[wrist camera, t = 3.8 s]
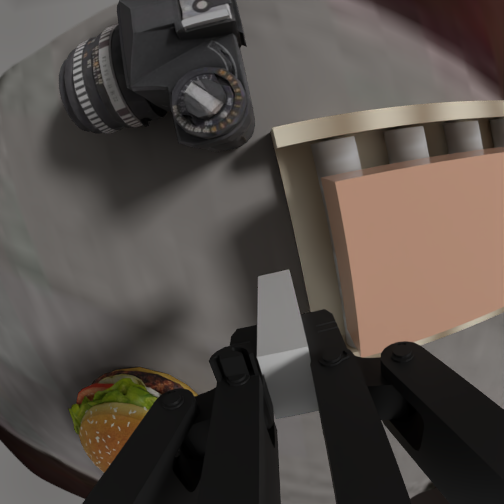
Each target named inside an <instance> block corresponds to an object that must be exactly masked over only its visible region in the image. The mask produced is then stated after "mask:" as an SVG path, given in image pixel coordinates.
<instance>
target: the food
mask: <svg viewBox="0 0 504 504" xmlns="http://www.w3.org/2000/svg"><path fill="white" fill-rule="evenodd" d="M179 388H183V389H188V390H189V391H191V392H192V393H193V395H194V396H197V395H198V394H197V393H195V392H194V391H193V390H192V389H191V388H190V387H189V386H188V385H186V384H185V383H183V382H181V381H179V380H178V379H176V378H174V377H172V376H171V375H169V374H165V373H161V372H157V371H153V370H149V369H145V368H142V367H137V368H128V369H119V370H115V371H113V372H110V373H106V374H104V375H102V376H101V377H99V378H98V379H96V380H95V381H94V382H93V383H92V385H90V386H88V387H85V388H83V389H82V390H81V391H80V392H79V393H78V397H77V403H76V404H74V405H72V407H71V409H69V408H68V409H69V411H70V414H71V417H72V420H73V423H74V430H75V432H76V433H77V434H78V435H79V437H80V441H81V444H82V446H83V448H84V451H85V452H86V453H87V455H88V456H89V458H90V459H91V460H92V461H93V463H94V464H95V465H96V466H97V467H98V468H99V469H100V470H101V471H103V472H104V473H105V471H106V470H107V468H108V467H109V466H110V464H111V463H112V461H113V460H114V459H115V457H116V456H117V454H118V453H119V452H120V450H121V449H122V447H123V446H124V445H125V443H126V442H127V440H128V439H129V437H130V436H131V435H132V433H133V432H134V430H135V429H136V428H137V426H138V425H139V423H140V422H141V421H142V419H143V418H144V416H145V415H146V413H147V412H148V411H149V409H150V408H151V406H152V405H153V403H154V402H155V401H156V399H157V398H158V397H159V396H160V395H162V394H164V393H165V392H167V391H170V390H173V389H179Z"/></svg>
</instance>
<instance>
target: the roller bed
mask: <svg viewBox="0 0 504 504" xmlns="http://www.w3.org/2000/svg"><path fill="white" fill-rule="evenodd" d="M270 134H271V138H272V142H273V146H274V150H275V154H276V158H277V162H278V166H279V170H280V174H281V178H282V183H283V187H284V191H285V195H286V200H287V204H288V208H289V213H290V217H291V221H292V226H293V230H294V235H295V239H296V244H297V249H298V253H299V258H300V263H301V268H302V272H303V277H304V282H305V287H306V292H307V297H308V302H309V307H310V312H314V311H318V310H323V309H326V310H327V311H329V312H330V313H332V314H333V316H334V318H335V321H336V323H337V326H338V328H339V330H340V333H341V335H342V337H343V340H344V342H345V344H346V347H347V349H350V350H351V351H352V353H353V354H354V355H355V356H358V357H360V355H359V353H358V350H357V348H356V346H355V344H354V342H353V340H352V338H351V336H350V334H349V332H348V330H347V324H346V317H345V310H344V303H343V296H342V289H341V283H340V277H339V270H338V264H337V259H336V253H335V247H334V242H333V236H332V231H331V225H330V220H329V215H328V210H327V205H326V200H325V195H324V191H323V186H322V181H321V178H322V177H326V176H331V175H336V174H341V173H346V172H351V171H356V170H361V169H366V168H371V167H376V166H382V165H387V164H393V163H398V162H404V161H410V160H415V159H421V158H427V157H434V156H440V155H446V154H453V153H460V152H467V151H474V150H481V149H489V148H496V147H504V101H463V102H445V103H431V104H419V105H408V106H399V107H390V108H382V109H374V110H367V111H360V112H353V113H347V114H340V115H334V116H329V117H323V118H317V119H312V120H307V121H302V122H297V123H292V124H287V125H282V126H278V127H273V128H272V130H271V132H270ZM503 312H504V307H502V308H500V309H498V310H496V311H493V312H491V313H489V314H486V315H484V316H482V317H479V318H477V319H474V320H472V321H469V322H467V323H464V324H462V325H459V326H457V327H454V328H452V329H449V330H446V331H444V332H441V333H438V334H435V335H433V336H430V337H427V338H424V339H421V340H418V341H415V342H414V343H416V344H418V345H423V344H426V343H429V342H431V341H434V340H437V339H440V338H442V337H445V336H448V335H450V334H453V333H455V332H458V331H460V330H463V329H465V328H468V327H470V326H473V325H475V324H478V323H480V322H482V321H485V320H487V319H489V318H491V317H494V316H496V315H498V314H500V313H503ZM381 353H382V352H381ZM381 353H378V354H374V355H371V356H367V357H364V358H376V357H381Z"/></svg>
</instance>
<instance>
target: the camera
mask: <svg viewBox="0 0 504 504" xmlns="http://www.w3.org/2000/svg"><path fill="white" fill-rule="evenodd" d="M117 15H118V23H119V24H116V25H113V26H110V27H108V28H106V29H105V30H104V31H103V32H102V33H101V34H99V35H98V36H97V37H92V38H90V39H88V40H86V41H84V42H82V43H80V44H79V45H78V47H77V48H76V49H74V50H73V51H72V52H71V53H70V54H69V56H68V58H67V59H66V60H65V61H64V63H63V64H62V66H61V69H60V73H59V89H60V94H61V99H62V102H63V104H64V107H65V109H66V111H67V113H68V115H69V116H70V118H71V120H72V121H73V122H74V123H75V124H76V125H77V126H78V127H79V128H80V129H82V130H84V131H91V132H93V133H103V132H104V133H113V132H116V131H118V130H121V129H122V128H123V127H131V126H132V127H139V126H142V125H144V126H149V125H148V123H149V121H151V120H154V119H158V118H161V117H164V116H165V114H166V113H167V111H169V112H172V115H173V119H174V124H175V129H176V133H177V138H178V143H181V144H184V145H187V146H190V147H194V148H199V149H208V150H211V151H214V152H220V151H225V150H230V149H233V148H237V147H240V146H242V145H243V144H245V143H246V142H248V140H249V139H250V138H251V137H252V134H253V132H254V127H255V118H254V113H253V107H252V102H251V97H250V92H249V87H248V82H247V78H246V73H245V69H244V64H243V60H242V55H241V51H240V47H241V45H244V46H246V41H245V35H244V31H243V27H242V23H241V19H240V15H239V11H238V7H237V3H236V0H119V3H118V5H117ZM246 47H247V46H246Z"/></svg>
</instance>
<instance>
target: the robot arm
mask: <svg viewBox="0 0 504 504" xmlns="http://www.w3.org/2000/svg"><path fill="white" fill-rule="evenodd" d="M209 363H210V365H211V368H212V370H213V373H214V375H215V378H216V380H217V386H216V388H214V389H213V390H210V391H208V392H206V393H203V394H200V395H197V396H194V395H193V393H192V392H191V391H189V390H188V389H183V388H179V389H173V390H170V391H167V392H165V393H164V394H162V395H160V396H159V397H158V398H157V399H156V401H155V402H154V403H153V405H152V406H151V408H150V409H149V411H148V412H147V413H146V415H145V416H144V418H143V419H142V421H141V422H140V423H139V425H138V426H137V428H136V429H135V430H134V432H133V433H132V435H131V436H130V437H129V439H128V440H127V442H126V443H125V445H124V446H123V447H122V449H121V450H120V452H119V453H118V454H117V456H116V457H115V459H114V460H113V461H112V463H111V464H110V466H109V467H108V468H107V470H106V471H105V473H104V474H103V476H102V477H101V478H100V480H99V481H98V483H97V484H96V485H95V487H94V488H93V490H92V491H91V492H90V494H89V495H88V497H87V498H86V499H85V501H84V502H83V504H281V499H280V478H279V458H278V439H277V429H276V426H275V422H274V415H275V418H276V419H279V418H284V417H290V416H295V415H300V414H305V413H310V412H314V411H319V413H320V418H321V424H322V429H323V435H324V439H325V444H326V449H327V455H328V460H329V465H330V471H331V476H332V482H333V488H334V493H335V499H336V504H411V501H410V498H409V495H408V492H407V490H406V487H405V484H404V481H403V478H402V475H401V473H400V470H399V467H398V464H397V462H396V459H395V456H394V454H393V451H392V448H391V446H390V443H389V440H388V438H387V435H386V432H385V430H384V427H383V425H382V422H381V420H382V421H383V423H384V425H385V426H386V427H387V428H388V429H389V431H390V432H391V433H392V434H393V436H394V437H395V438H396V439H397V440H398V442H399V443H400V444H401V445H402V446H403V448H404V449H405V450H406V451H407V452H408V454H409V455H410V456H411V457H412V458H413V460H414V461H415V462H416V463H417V464H418V466H419V467H420V468H421V469H422V470H423V472H424V473H425V474H426V475H427V476H428V478H429V479H430V480H431V481H432V482H433V484H434V485H435V486H436V487H437V488H438V490H439V491H440V492H441V493H442V494H443V496H444V497H445V498H446V499H447V500H448V502H449V503H450V504H504V409H502V408H501V407H500V406H498V405H497V404H496V403H495V402H493V401H492V400H491V399H490V398H488V397H487V396H486V395H484V394H483V393H482V392H481V391H479V390H478V389H477V388H475V387H474V386H473V385H471V384H470V383H469V382H468V381H466V380H465V379H464V378H462V377H461V376H460V375H458V374H457V373H456V372H455V371H453V370H452V369H451V368H449V367H448V366H447V365H445V364H444V363H443V362H441V361H440V360H439V359H437V358H436V357H435V356H433V355H432V354H431V353H429V352H428V351H427V350H425V349H424V348H423V347H422V346H420V345H418V344H416V343H414V342H408V341H403V342H396V343H393V344H390V345H389V346H387V347H386V348H384V350H383V351H382V353H381V357H376V358H363V357H358V356H355V355H354V354H353V353H352V351H351V350H350V349H347V347H346V344H345V342H344V340H343V337H342V335H341V333H340V330H339V328H338V326H337V323H336V321H335V318H334V316H333V314H332V313H330V312H329V311H327V310H326V309H323V310H318V311H314V312H310V313H306V314H301V315H300V311H299V307H298V303H297V298H296V294H295V290H294V286H293V282H292V278H291V274H290V270H289V269H288V270H284V271H279V272H275V273H271V274H266V275H262V276H258V316H257V325H255V326H250V327H245V328H240V329H237V330H236V331H235V333H234V334H233V335H232V336H231V342H230V346H228V347H224V348H222V349H220V350H218V351H217V352H216V353H214V354H213V355H212V356H211V358H210V360H209Z"/></svg>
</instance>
